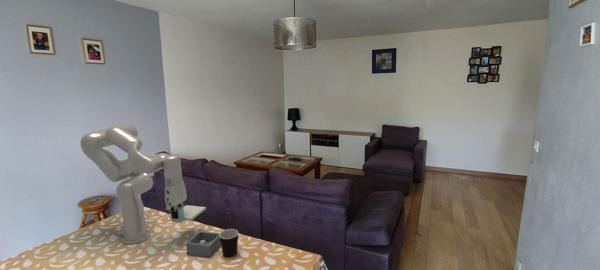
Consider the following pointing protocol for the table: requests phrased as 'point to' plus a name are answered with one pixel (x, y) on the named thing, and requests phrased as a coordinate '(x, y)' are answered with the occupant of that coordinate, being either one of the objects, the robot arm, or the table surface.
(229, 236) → the coffee mug
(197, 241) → the tub
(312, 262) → the table surface
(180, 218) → the board with teal handle
